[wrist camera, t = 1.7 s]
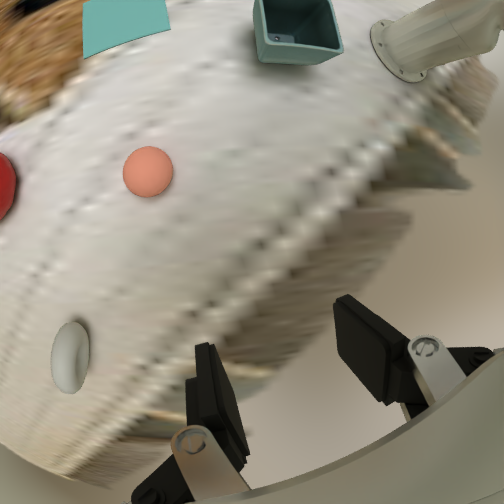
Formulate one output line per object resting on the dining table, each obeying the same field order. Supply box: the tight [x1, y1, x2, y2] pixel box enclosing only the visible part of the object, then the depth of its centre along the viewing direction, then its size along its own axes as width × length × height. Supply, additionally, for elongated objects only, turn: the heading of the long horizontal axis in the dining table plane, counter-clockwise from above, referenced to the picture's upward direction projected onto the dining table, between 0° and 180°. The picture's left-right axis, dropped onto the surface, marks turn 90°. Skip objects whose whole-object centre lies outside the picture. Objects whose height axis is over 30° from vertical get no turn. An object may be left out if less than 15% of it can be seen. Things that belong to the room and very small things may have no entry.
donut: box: [51, 322, 89, 394], centre depth 27 cm, size 10×3×10 cm, turn 166°
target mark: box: [83, 0, 171, 59], centre depth 22 cm, size 12×12×1 cm
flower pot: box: [253, 0, 344, 65], centre depth 24 cm, size 9×9×9 cm
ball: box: [123, 146, 173, 197], centre depth 27 cm, size 6×6×6 cm
